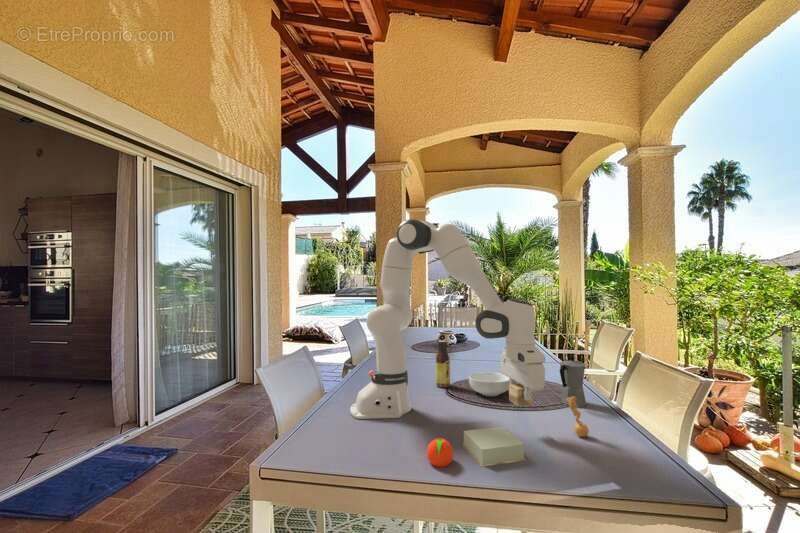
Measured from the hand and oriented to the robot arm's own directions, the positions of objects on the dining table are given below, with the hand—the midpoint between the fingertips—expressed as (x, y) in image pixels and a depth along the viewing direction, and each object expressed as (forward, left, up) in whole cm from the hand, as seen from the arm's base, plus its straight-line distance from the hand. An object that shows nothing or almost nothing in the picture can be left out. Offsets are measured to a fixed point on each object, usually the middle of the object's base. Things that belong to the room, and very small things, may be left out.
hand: (520, 396), depth 120 cm
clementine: (-31, -12, -12) cm, 35 cm away
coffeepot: (+33, +20, -12) cm, 41 cm away
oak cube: (0, 0, -2) cm, 2 cm away
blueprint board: (-15, -10, -12) cm, 22 cm away
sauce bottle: (-6, +55, -12) cm, 56 cm away
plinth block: (-15, -10, -11) cm, 21 cm away
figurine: (+16, -5, -12) cm, 21 cm away
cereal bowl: (+9, +40, -12) cm, 43 cm away
